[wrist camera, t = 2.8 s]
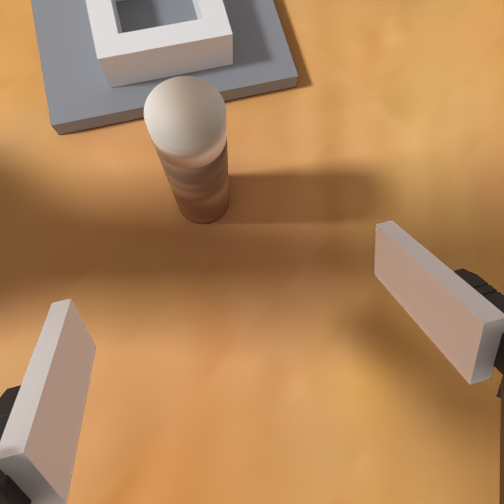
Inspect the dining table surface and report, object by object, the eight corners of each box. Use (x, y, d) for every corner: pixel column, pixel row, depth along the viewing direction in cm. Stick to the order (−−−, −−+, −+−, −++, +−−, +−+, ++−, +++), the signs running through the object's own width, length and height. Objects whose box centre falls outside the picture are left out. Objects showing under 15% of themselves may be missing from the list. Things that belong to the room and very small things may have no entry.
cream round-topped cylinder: (184, 229, 33) (152, 156, 20) (173, 182, 34) (136, 84, 21) (234, 217, 33) (234, 138, 21) (222, 171, 34) (215, 69, 21)
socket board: (59, 134, 34) (30, 100, 29) (35, -9, 38) (5, -62, 33) (295, 86, 36) (305, 46, 32) (252, -45, 40) (255, -99, 35)
